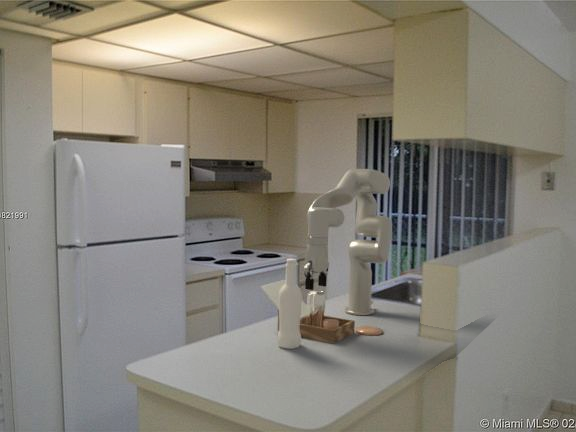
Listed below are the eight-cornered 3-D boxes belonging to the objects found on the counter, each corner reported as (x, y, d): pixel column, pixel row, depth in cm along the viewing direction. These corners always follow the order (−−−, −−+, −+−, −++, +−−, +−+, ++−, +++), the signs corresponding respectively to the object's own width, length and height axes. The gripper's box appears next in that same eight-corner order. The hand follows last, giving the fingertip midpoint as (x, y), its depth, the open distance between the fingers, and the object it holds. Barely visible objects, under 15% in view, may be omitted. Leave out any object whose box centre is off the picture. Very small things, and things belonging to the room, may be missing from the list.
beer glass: (325, 335, 201) (326, 294, 200) (306, 334, 201) (307, 294, 200) (324, 330, 208) (325, 291, 207) (305, 329, 208) (306, 290, 207)
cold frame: (312, 324, 215) (312, 313, 215) (354, 332, 205) (354, 320, 205) (289, 334, 201) (289, 322, 200) (333, 343, 191) (333, 330, 191)
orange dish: (362, 326, 214) (362, 324, 214) (386, 331, 209) (386, 329, 209) (351, 332, 206) (351, 330, 205) (376, 337, 200) (376, 335, 200)
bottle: (272, 346, 185) (275, 259, 183) (284, 341, 193) (286, 256, 191) (294, 351, 182) (296, 261, 180) (304, 344, 189) (307, 258, 187)
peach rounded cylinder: (327, 334, 203) (327, 318, 202) (340, 336, 200) (341, 320, 199) (320, 337, 198) (320, 321, 198) (333, 340, 195) (334, 323, 195)
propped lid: (282, 319, 222) (283, 279, 221) (313, 324, 215) (314, 283, 214) (258, 328, 208) (259, 285, 207) (290, 334, 201) (291, 290, 199)
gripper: (320, 239, 211) (318, 283, 212) (296, 242, 197) (295, 289, 198) (337, 241, 207) (335, 285, 208) (315, 244, 193) (313, 292, 194)
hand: (315, 287), depth 203 cm, fingers open, 9 cm apart
